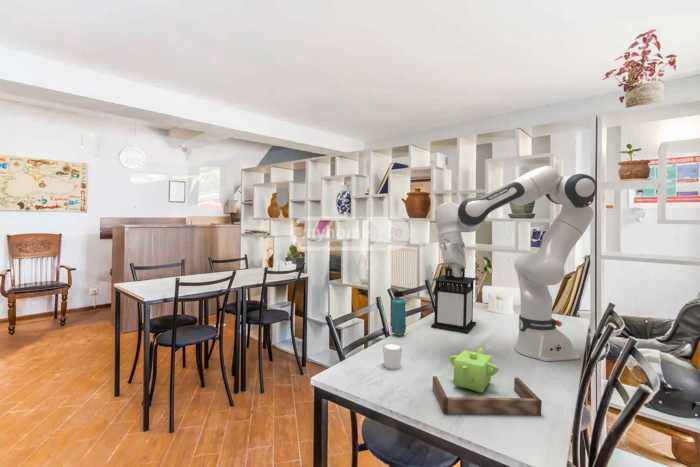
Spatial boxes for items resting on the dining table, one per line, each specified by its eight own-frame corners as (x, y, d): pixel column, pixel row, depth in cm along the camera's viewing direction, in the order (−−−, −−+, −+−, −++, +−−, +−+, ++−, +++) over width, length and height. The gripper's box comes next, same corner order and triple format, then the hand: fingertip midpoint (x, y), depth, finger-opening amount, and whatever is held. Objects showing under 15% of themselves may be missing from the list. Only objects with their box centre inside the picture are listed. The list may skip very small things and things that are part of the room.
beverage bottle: (405, 338, 159) (406, 293, 158) (390, 337, 160) (390, 292, 159) (406, 333, 165) (406, 290, 164) (391, 332, 166) (392, 289, 165)
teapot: (480, 374, 123) (481, 343, 123) (506, 393, 110) (508, 358, 110) (440, 378, 119) (441, 347, 119) (462, 399, 107) (463, 363, 106)
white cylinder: (389, 371, 125) (389, 351, 125) (379, 363, 131) (379, 344, 131) (405, 367, 128) (406, 348, 128) (394, 360, 134) (395, 342, 134)
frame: (517, 390, 112) (518, 377, 112) (541, 415, 98) (541, 400, 98) (432, 388, 112) (432, 376, 112) (443, 413, 98) (443, 399, 98)
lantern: (441, 319, 189) (443, 252, 187) (475, 324, 180) (477, 254, 178) (431, 327, 174) (432, 255, 172) (467, 334, 165) (469, 257, 163)
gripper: (451, 235, 132) (458, 273, 128) (465, 244, 149) (472, 277, 145) (434, 239, 135) (441, 276, 131) (450, 247, 152) (456, 280, 148)
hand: (457, 277), depth 138 cm, fingers closed
